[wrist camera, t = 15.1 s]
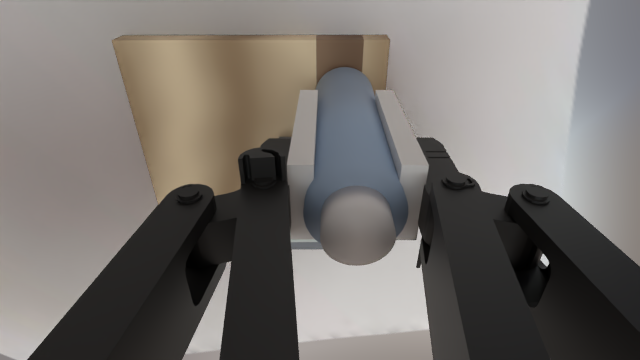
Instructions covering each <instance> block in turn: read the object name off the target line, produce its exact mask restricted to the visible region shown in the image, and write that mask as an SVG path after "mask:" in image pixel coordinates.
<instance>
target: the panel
mask: <svg viewBox="0 0 640 360" xmlns="http://www.w3.org/2000/svg"><path fill="white" fill-rule="evenodd" d="M112 43H113V47H114V50H115V54H116V57H117V61H118V64H119V68H120V71H121V75H122V78H123V82H124V85H125V89H126V92H127V96H128V99H129V103H130V106H131V110H132V114H133V117H134V121H135V124H136V128H137V131H138V135H139V138H140V142H141V145H142V149H143V152H144V156H145V159H146V163H147V166H148V170H149V173H150V177H151V181H152V184H153V188H154V191H155V195H156V198H157V202H158V205H159V203H160V202H161V201H162V200H163V199H164V198H165V196H166V195H167V194H168V193H170V192H171V191H172V190H174V189H176V188H178V187H180V186H183V185H187V184H202V185H207V186H209V187H210V188H212V190H213V192H214V196H216V195H221V194H227V193H231V192H234V191H236V190H239V189H240V188H241V180H240V173H239V165H238V157H239V156H240V154H242V153H243V152H245V151H247V150H250V149H253V148H259V147H261V144H262V143H264V142H265V141H266V140H267V139H269V138H279V137H292V133H293V127H294V122H295V116H296V111H297V105H298V99H299V94H300V90H315V89H316V86H317V84H318V82H319V80H320V79H321V78H322V77H323V76H324V75H325V74H326V73H327V72H329V71H331V70H333V69H335V68H339V67H350V68H354V69H356V70H359V71H360V72H362V73H363V74H364V75H365V76H366V77H367V78H368V79H369V81H370V83H371V85H372V88H373V92H374V95H375V92H376V90H385V88H386V77H387V66H388V55H389V44H390V39H389V38H388V36H387V35H130V36H120V37H118V38H116V39H114V40H112Z"/></svg>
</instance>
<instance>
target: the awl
mask: <svg viewBox="0 0 640 360" xmlns="http://www.w3.org/2000/svg"><path fill="white" fill-rule="evenodd" d="M315 90H318V109H317V128H316V147H315V166H314V180H313V181H312V182H311V184H310V185H309V187H308V189H307V192H306V195H305V200H304V209H303V217H304V222H305V225H306V228H307V229H308V231H309V233H310V234H311V236H312V237H313V238H314V239H315V240H316V241H317V242H319V243H320V244H321V245H322V248H323V249H324V251H325V252H326V253H327V254H328V255H329V256H330V257H331V258H332V259H334V260H336V261H338V262H340V263H343V264H347V265H366V264H370V263H373V262H376V261H378V260H380V259H382V258H383V257H384V256H386V255H387V254H388V253H389V252H390V251H391V249H392V248H393V246H394V243H395V240H396V237H397V236H398V235H399V234H400V233H401V231H402V230H403V228H404V226H405V224H406V222H407V218H408V202H407V199H406V196H405V192H404V189H403V187H402V185H401V183H400V181H399V177H398V174H397V171H396V168H395V164H394V161H393V158H392V155H391V151H390V148H389V145H388V142H387V138H386V135H385V132H384V129H383V125H382V122H381V119H380V116H379V112H378V109H377V106H376V103H375V95H374V92H373V88H372V85H371V83H370V81H369V79H368V78H367V77H366V76H365V75H364V74H363V73H362V72H360V71H359V70H356V69H354V68H350V67H339V68H335V69H333V70H331V71H329V72H327V73H326V74H325V75H324V76H323V77H322V78H321V79H320V80H319V82H318V84H317V86H316V89H315Z"/></svg>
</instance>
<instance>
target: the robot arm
mask: <svg viewBox="0 0 640 360" xmlns="http://www.w3.org/2000/svg"><path fill="white" fill-rule="evenodd" d="M375 103H376V106H377V109H378V112H379V116H380V119H381V122H382V125H383V129H384V132H385V135H386V138H387V142H388V145H389V148H390V151H391V155H392V158H393V161H394V164H395V168H396V171H397V174H398V177H399V181H400V183H401V185H402V187H403V189H404V192H405V196H406V199H407V202H408V218H407V222H406V224H405V226H404V228H403V230H402V231H401V233H400V234H399V235H398V236H397V237H396V240H416V238H417V233H418V227H419V229H420V232H421V235H422V239H421V244H420V250H419V255H418V261H417V266H416V268H420V265H422V273H423V281H424V289H425V297H426V305H427V313H428V321H429V329H430V337H431V345H432V353H433V360H640V267H639V266H638V265H637V264H636V263H635V262H634V261H633V260H631V259H630V258H629V257H628V256H627V255H626V254H625V253H623V252H622V251H621V250H620V249H619V248H618V247H617V246H615V245H614V244H613V243H612V242H611V241H610V240H609V239H607V238H606V237H605V236H604V235H603V234H602V233H600V231H598V230H597V229H596V228H595V227H594V226H593V225H592V224H590V223H589V222H588V221H587V220H586V219H585V218H583V217H582V216H581V215H580V214H579V213H578V212H577V211H576V210H574V209H573V208H572V207H571V206H570V205H569V204H568V203H566V202H565V201H564V200H563V199H562V198H561V197H560V196H558V195H557V194H555V193H554V192H552V191H551V190H549V189H546V188H544V187H542V186H539V185H537V186H536V185H534V184H519V185H514V186H513V187H512V188H510V191H509V194H508V197H506V196H501V195H495V194H490V193H486V192H482V191H481V189H480V186H479V184H478V183H477V182H476V180H475V179H473V178H471V177H470V176H468V175H465V174H462V173H459V172H458V170H457V168H456V167H455V165H454V163H453V161H452V160H451V158H450V156H449V155H448V153H446V150H445V148H444V146H443V145H442V144H441V143H440V142H438V141H437V140H435V139H434V138H416V137H415V135H414V133H413V131H412V128H411V126H410V124H409V122H408V120H407V118H406V116H405V114H404V112H403V109H402V107H401V105H400V103H399V101H398V99H397V97H396V95H395V92H394V90H376V92H375ZM317 109H318V90H300V94H299V99H298V105H297V111H296V116H295V122H294V127H293V133H292V138H269V139H267V140H266V141H265V142H264V143H262V144H261V147H259V148H253V149H250V150H247V151H245V152H243V153H242V154H240V156H239V157H238V165H239V173H240V180H241V188H240V189H239V190H236V191H234V192H231V193H227V194H221V195H216V196H214V192H213V190H212V188H210V187H209V186H207V185H202V184H187V185H183V186H180V187H178V188H176V189H174V190H172V191H171V192H170V193H168V194H167V195H166V196H165V198H164V199H163V200H162V201H161V202H160V203H159V205H158V206H157V207H156V208H155V209H154V211H153V212H152V213H151V214H150V215H149V216H148V218H147V219H146V220H145V221H144V222H143V224H142V225H141V226H140V227H139V228H138V229H137V231H136V232H135V233H134V234H133V235H132V237H131V238H130V239H129V240H128V241H127V242H126V244H125V245H124V246H123V247H122V248H121V250H120V251H119V252H118V253H117V254H116V255H115V257H114V258H113V259H112V260H111V261H110V263H109V264H108V265H107V266H106V267H105V268H104V270H103V271H102V272H101V273H100V274H99V276H98V277H97V278H96V279H95V280H94V281H93V283H92V284H91V285H90V286H89V287H88V289H87V290H86V291H85V292H84V293H83V294H82V296H81V297H80V298H79V299H78V300H77V302H76V303H75V304H74V305H73V306H72V307H71V309H70V310H69V311H68V312H67V313H66V315H65V316H64V317H63V318H62V319H61V320H60V322H59V323H58V324H57V325H56V326H55V328H54V329H53V330H52V331H51V332H50V333H49V335H48V336H47V337H46V338H45V339H44V341H43V342H42V343H41V344H40V345H39V346H38V348H37V349H36V350H35V351H34V352H33V354H32V355H31V356H30V357H29V358H28V359H27V360H182V358H183V356H184V354H185V352H186V350H187V348H188V346H189V344H190V342H191V340H192V337H193V335H194V333H195V331H196V329H197V327H198V325H199V323H200V320H201V318H202V316H203V314H204V312H205V310H206V308H207V306H208V303H209V301H210V299H211V297H212V295H213V293H214V291H215V289H216V286H217V284H218V282H219V280H220V278H221V276H222V274H223V272H224V270H225V267H226V262H230V261H232V262H231V270H230V278H229V286H228V295H227V303H226V311H225V319H224V327H223V336H222V344H221V352H220V360H299V350H298V335H297V321H296V307H295V294H294V280H293V266H292V252H291V239H314V238H313V237H312V236H311V234H310V233H309V231H308V229H307V228H306V225H305V222H304V217H303V209H304V200H305V195H306V192H307V189H308V187H309V185H310V184H311V182H312V181H313V180H314V166H315V147H316V128H317ZM290 231H291V238H290ZM542 254H544V255H545V256H546V257H547V259H548V260H549V265H548V266H547V267H546V266H545V265H544V264H543V263H542V261H541V260H540V259H541V256H542Z"/></svg>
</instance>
